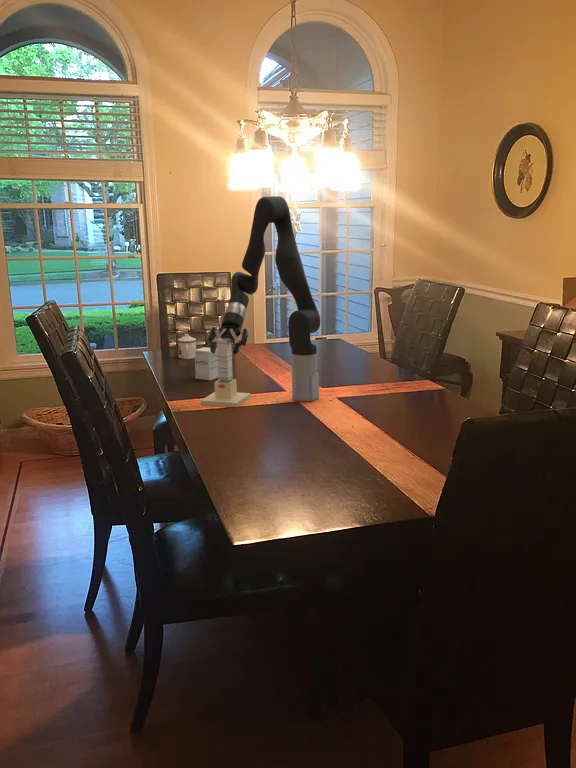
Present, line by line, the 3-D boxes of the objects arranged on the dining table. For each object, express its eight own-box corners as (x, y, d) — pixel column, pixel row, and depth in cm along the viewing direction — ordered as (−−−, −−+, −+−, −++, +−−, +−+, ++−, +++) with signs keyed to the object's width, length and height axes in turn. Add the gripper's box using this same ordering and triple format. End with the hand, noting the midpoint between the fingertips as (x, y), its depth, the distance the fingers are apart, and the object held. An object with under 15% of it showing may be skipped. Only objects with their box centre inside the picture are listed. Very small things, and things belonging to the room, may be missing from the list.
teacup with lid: (178, 356, 323) (177, 332, 320) (197, 355, 324) (195, 332, 322) (177, 361, 312) (176, 337, 309) (196, 360, 313) (195, 336, 310)
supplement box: (195, 379, 275) (193, 349, 272) (205, 375, 281) (203, 346, 278) (209, 380, 272) (208, 351, 269) (219, 377, 278) (218, 348, 275)
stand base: (250, 397, 246) (250, 377, 244) (236, 407, 233) (236, 386, 231) (216, 394, 250) (215, 375, 248) (200, 404, 237) (200, 384, 235)
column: (232, 378, 240) (231, 338, 237) (228, 380, 237) (226, 340, 233) (222, 377, 242) (220, 337, 238) (217, 380, 238) (216, 339, 234)
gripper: (213, 310, 243) (202, 346, 235) (249, 311, 238) (238, 348, 231) (219, 322, 249) (208, 357, 241) (254, 323, 245) (244, 359, 237)
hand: (223, 353), depth 236 cm, fingers open, 8 cm apart
